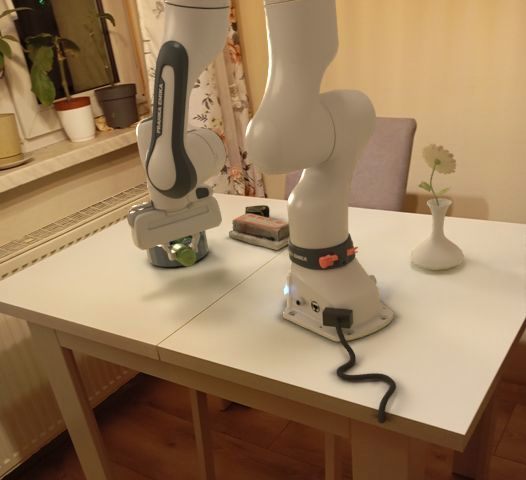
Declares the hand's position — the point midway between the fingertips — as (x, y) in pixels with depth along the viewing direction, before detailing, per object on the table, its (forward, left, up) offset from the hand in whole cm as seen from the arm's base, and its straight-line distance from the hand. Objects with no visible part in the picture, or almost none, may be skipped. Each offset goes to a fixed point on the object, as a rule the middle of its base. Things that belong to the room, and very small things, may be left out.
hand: (183, 255), depth 128 cm
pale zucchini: (0, 0, -2) cm, 2 cm away
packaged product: (+10, -26, -7) cm, 29 cm away
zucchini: (+16, -6, -6) cm, 18 cm away
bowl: (+16, -4, -6) cm, 17 cm away
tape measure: (+23, -31, -7) cm, 39 cm away
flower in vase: (-30, -46, -7) cm, 56 cm away
